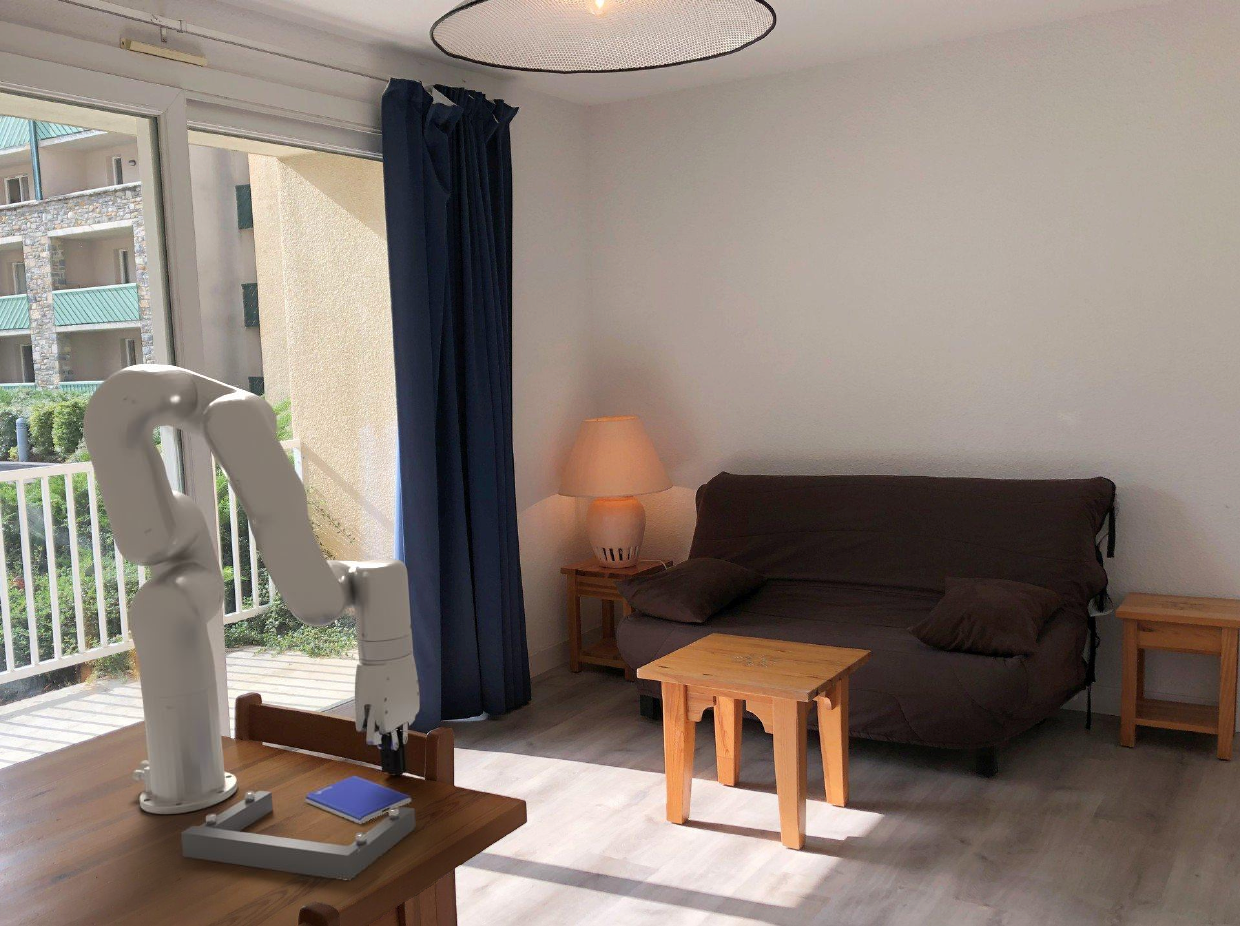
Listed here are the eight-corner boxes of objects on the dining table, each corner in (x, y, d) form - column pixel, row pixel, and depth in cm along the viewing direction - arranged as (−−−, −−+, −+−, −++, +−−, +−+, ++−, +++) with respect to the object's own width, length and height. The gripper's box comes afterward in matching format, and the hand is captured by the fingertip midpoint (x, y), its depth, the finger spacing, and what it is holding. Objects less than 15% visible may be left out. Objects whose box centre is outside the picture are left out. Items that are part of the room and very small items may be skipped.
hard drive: (305, 794, 140) (359, 816, 132) (355, 774, 146) (410, 794, 138) (306, 805, 140) (360, 828, 132) (356, 785, 146) (411, 805, 138)
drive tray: (183, 856, 125) (180, 828, 125) (260, 808, 138) (258, 783, 138) (349, 880, 117) (347, 851, 117) (415, 827, 130) (413, 800, 130)
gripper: (391, 632, 154) (400, 752, 155) (330, 660, 140) (341, 791, 141) (435, 634, 151) (444, 756, 153) (378, 663, 137) (388, 796, 139)
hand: (394, 772), depth 147 cm, fingers closed
